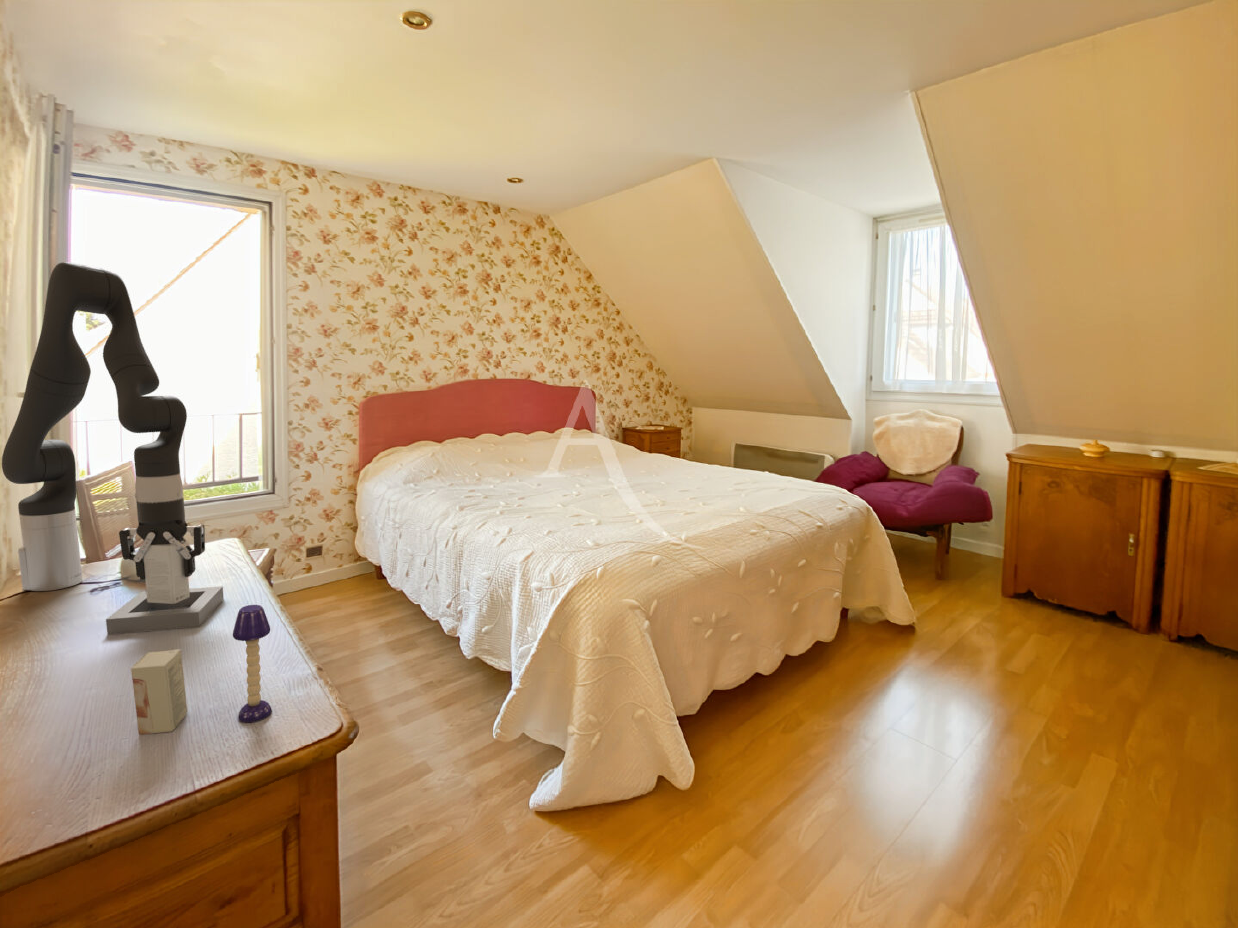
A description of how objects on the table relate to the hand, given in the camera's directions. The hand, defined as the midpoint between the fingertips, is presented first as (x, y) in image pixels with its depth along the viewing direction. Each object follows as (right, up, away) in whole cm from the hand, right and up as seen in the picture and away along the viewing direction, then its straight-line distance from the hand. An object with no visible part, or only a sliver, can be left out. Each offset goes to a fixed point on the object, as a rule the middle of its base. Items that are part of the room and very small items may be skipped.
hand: (166, 577), depth 123 cm
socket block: (0, -8, +1) cm, 8 cm away
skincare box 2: (+26, -14, -36) cm, 47 cm away
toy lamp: (+38, -14, -33) cm, 53 cm away
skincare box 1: (0, -5, +1) cm, 5 cm away
